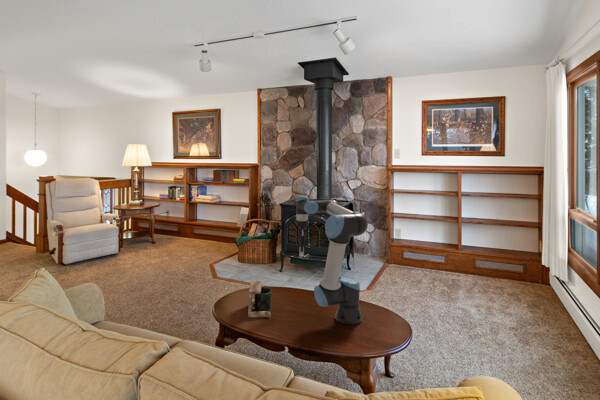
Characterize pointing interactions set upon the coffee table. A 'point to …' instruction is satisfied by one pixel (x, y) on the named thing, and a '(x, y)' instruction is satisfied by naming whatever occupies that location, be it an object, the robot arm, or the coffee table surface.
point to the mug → (263, 300)
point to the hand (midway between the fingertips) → (301, 256)
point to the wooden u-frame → (254, 289)
